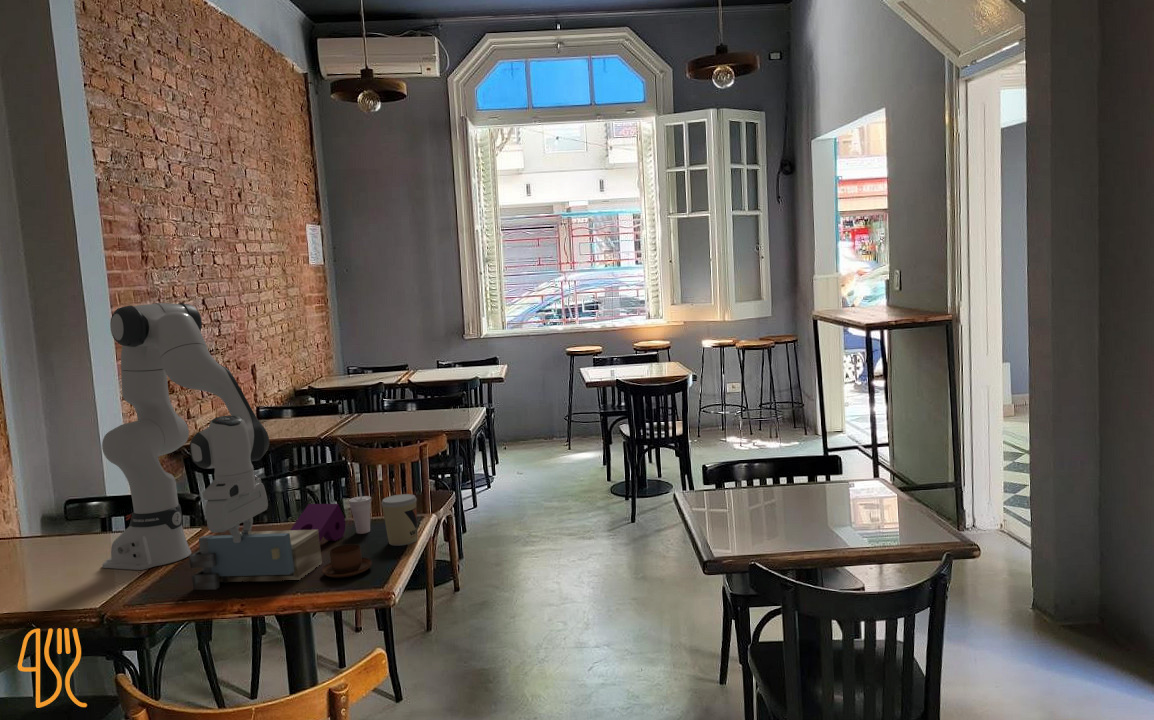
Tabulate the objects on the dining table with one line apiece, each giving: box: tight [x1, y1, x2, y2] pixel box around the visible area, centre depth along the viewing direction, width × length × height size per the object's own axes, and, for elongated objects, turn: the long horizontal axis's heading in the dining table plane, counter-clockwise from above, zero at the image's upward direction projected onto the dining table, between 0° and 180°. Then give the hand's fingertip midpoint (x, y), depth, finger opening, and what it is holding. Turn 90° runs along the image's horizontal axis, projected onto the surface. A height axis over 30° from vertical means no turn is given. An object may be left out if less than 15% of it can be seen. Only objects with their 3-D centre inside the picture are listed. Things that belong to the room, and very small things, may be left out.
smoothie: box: [348, 483, 372, 535], centre depth 244 cm, size 6×6×14 cm
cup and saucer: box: [321, 543, 373, 579], centre depth 210 cm, size 12×12×6 cm
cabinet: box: [188, 529, 323, 591], centre depth 212 cm, size 25×17×9 cm
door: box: [198, 533, 294, 576], centre depth 206 cm, size 23×4×10 cm, turn 79°
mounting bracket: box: [290, 503, 346, 542], centre depth 236 cm, size 10×9×19 cm
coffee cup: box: [381, 493, 418, 547], centre depth 232 cm, size 9×9×12 cm
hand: (242, 539), depth 206 cm, fingers closed on door, 2 cm apart
